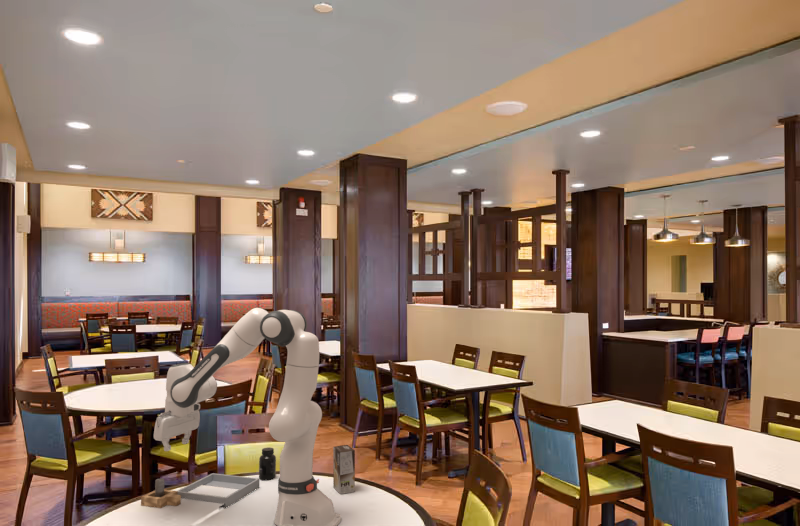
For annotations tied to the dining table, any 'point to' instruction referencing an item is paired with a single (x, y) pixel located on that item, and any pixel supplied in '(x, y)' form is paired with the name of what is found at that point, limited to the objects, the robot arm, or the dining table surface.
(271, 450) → the supplement bottle
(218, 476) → the tray
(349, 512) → the dining table surface
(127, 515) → the dining table surface
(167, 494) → the tabbed frame
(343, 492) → the coffee box
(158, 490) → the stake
